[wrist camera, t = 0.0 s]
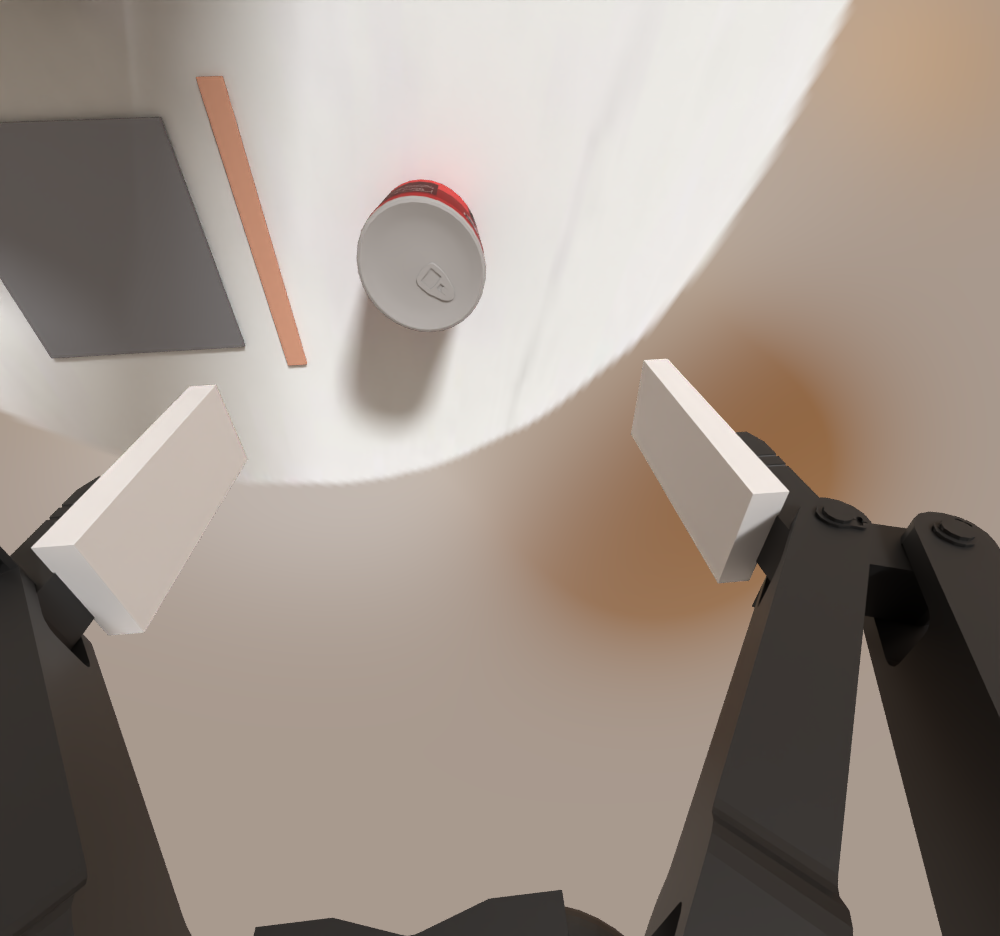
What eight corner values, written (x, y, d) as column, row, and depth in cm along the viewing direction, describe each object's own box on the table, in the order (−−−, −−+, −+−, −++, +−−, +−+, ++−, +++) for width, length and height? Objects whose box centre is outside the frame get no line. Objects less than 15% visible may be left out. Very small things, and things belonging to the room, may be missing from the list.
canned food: (454, 302, 40) (455, 352, 32) (363, 257, 38) (337, 298, 29) (495, 213, 37) (509, 242, 28) (398, 156, 34) (380, 168, 25)
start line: (197, 77, 30) (195, 76, 30) (222, 76, 30) (221, 76, 30) (289, 364, 42) (288, 365, 42) (307, 362, 42) (306, 364, 42)
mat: (-92, 125, 31) (-98, 125, 30) (161, 117, 31) (158, 117, 31) (54, 356, 40) (51, 358, 40) (245, 345, 41) (243, 346, 41)
